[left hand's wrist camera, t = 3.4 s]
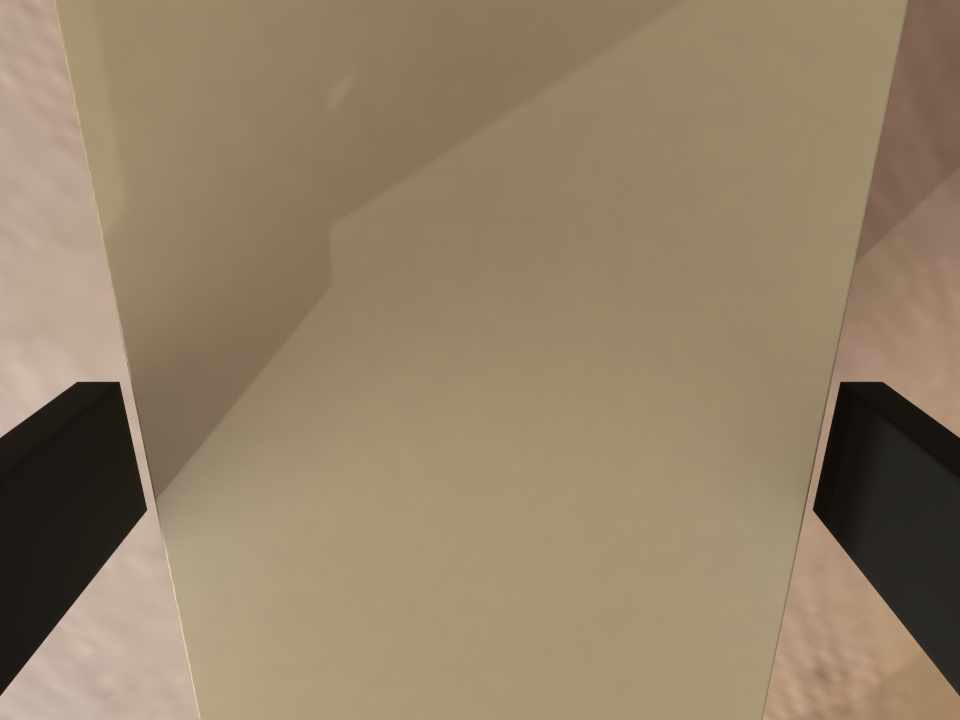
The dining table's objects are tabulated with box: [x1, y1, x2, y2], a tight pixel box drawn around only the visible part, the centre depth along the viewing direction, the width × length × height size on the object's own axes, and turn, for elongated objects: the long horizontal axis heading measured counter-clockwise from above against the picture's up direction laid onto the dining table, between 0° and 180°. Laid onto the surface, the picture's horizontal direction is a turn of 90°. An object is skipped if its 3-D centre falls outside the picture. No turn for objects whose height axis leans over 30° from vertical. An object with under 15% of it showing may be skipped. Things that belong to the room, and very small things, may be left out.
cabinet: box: [54, 0, 909, 720], centre depth 14 cm, size 20×10×10 cm, turn 0°
